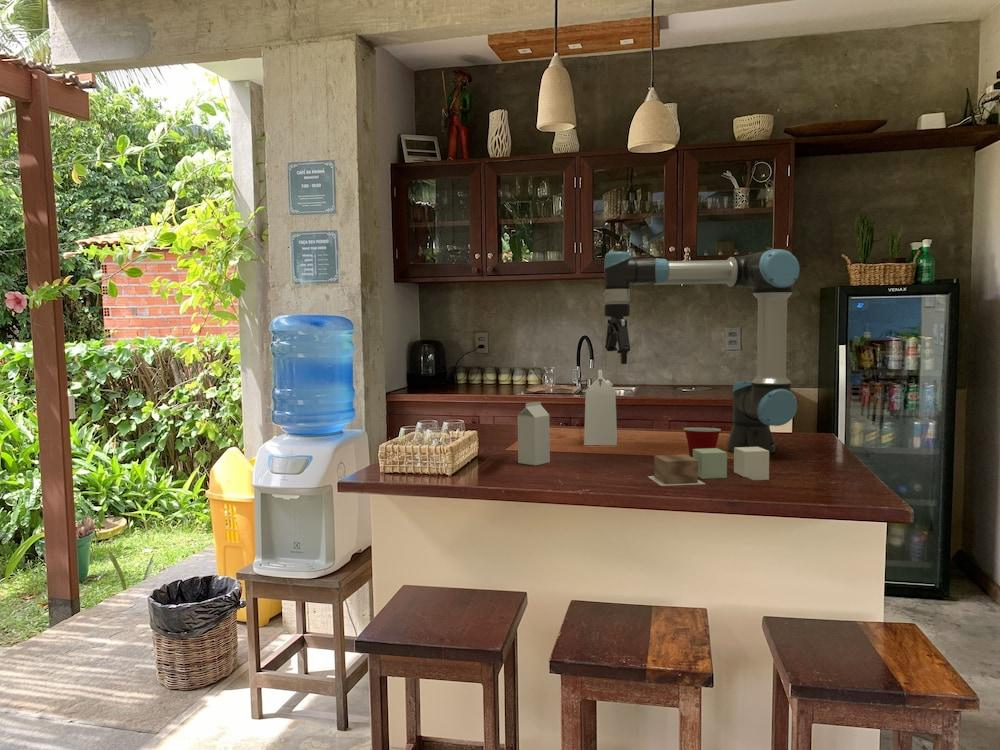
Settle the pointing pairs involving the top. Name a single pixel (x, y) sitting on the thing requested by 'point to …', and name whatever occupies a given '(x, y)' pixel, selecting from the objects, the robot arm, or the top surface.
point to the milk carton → (533, 435)
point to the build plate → (672, 484)
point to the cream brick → (752, 462)
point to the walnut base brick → (676, 469)
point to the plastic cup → (701, 438)
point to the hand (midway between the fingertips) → (617, 373)
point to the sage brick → (711, 463)
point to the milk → (600, 413)
